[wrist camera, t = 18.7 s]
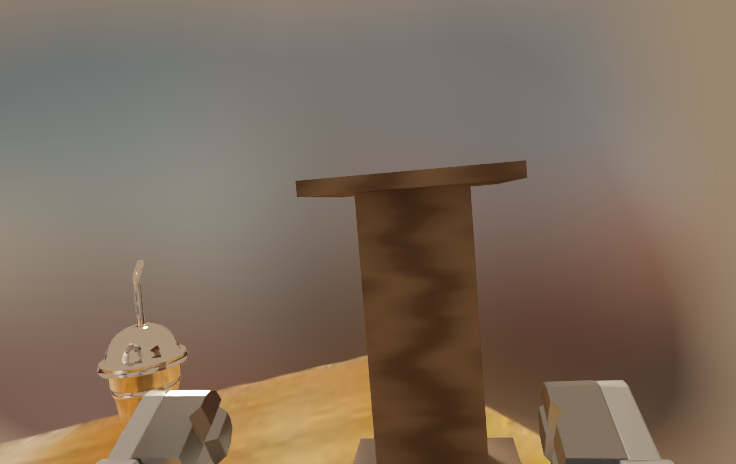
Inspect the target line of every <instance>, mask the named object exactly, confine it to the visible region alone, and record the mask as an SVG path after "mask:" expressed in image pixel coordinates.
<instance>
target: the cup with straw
mask: <svg viewBox="0 0 736 464" xmlns="http://www.w3.org/2000/svg"><path fill="white" fill-rule="evenodd" d="M143 265H144V261H143V260H139V261H138V262H137V264H136V267H135V270H134V273H133V289H134V298H135V307H136V316H137V324H135V325H132V326H129V327H127V328H125V329H124V330H122V331H121V332H120V333H118V334H117V335H116V336H115V337H114V338H113V340H112V341H111V342H110V345H109V347H108V349H107V352H106V355H105V359H103V360H102V361H101V362H100V363H99V364H98V371H97V375H98V376H99V377H102V378H106V379H107V381H108V385H109V389H110V390H111V393H112V396H113V398H114V399H115V402H116V406H117V410H118V414H119V418H120V422H121V426H122V430H123V431H124V429H125V427H126V425H127V423H128V422H129V420H130V418H131V416H132V415H133V413H134V411H135V409H136V408H137V406H138V404H139V402H140V401H141V399H142V397H143V396H144V395H145V394H146V393H147V392H149V391H150V390H179V383H180V375H181V363H182V362H184V361H185V360H186V359H187V358H188V353H187V351H186V347H185V346H183V345H180V344H179V342H178V340H177V339H176V337H175V336H174V335H173V333H172V332H171V331H170V330H169V329H167V328H166V327H164V326H162V325H159V324H155V323H145V320H144V311H143V302H142V294H141V283H140V278H141V277H140V276H141V272H142V268H143Z"/></svg>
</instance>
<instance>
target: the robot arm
mask: <svg viewBox="0 0 736 464" xmlns="http://www.w3.org/2000/svg"><path fill="white" fill-rule="evenodd" d="M540 394H541V398H542V401H543V405H542V406H541V407H540V408H539V431H540V438H541V443H542V448H543V452H544V456H545V457H546V458H547V459H548V460H549V461H550V462H551V464H674V463H673V462H672V461H671V460H661V457H660V455H659V453H658V451H657V449H656V447H655V444H654V442H653V440H652V438H651V436H650V433H649V431H648V429H647V427H646V424H645V422H644V420H643V418H642V416H641V413H640V411H639V409H638V407H637V405H636V402H635V400H634V398H633V396H632V394H631V391H630V389H629V387H628V385H627V384H626V383H625V382H624V381H623V380H613V381H593V380H588V381H562V382H543V383H542V385H541V393H540ZM220 402H221V398H220V396H219V394H218V393H217V391H216V390H150V391H149V392H147V393H146V394H145V395H144V396H143V397H142V399H141V401H140V402H139V404H138V406H137V408H136V409H135V411H134V413H133V415H132V416H131V418H130V420H129V422H128V423H127V425H126V427H125V429H124V431H123V432H122V434H121V436H120V438H119V439H118V441H117V443H116V445H115V446H114V448H113V450H112V452H111V453H110V455H109V457H108V459H101V460H100V461H98V462H97V463H96V464H218V463H219V462H220V461H221V460H223V459H224V458H225V457H226V456H227V453H228V450H229V447H230V444H231V437H232V424H231V419H230V416H229V414H228V412H226V411H225V410H223V409H222V408H220V407H219V405H220Z"/></svg>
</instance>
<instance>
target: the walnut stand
mask: <svg viewBox="0 0 736 464" xmlns="http://www.w3.org/2000/svg"><path fill="white" fill-rule="evenodd" d="M526 170H527V169H526V161H515V162H504V163H493V164H481V165H471V166H459V167H448V168H436V169H425V170H414V171H404V172H392V173H380V174H369V175H358V176H347V177H335V178H324V179H314V180H302V181H296V190H297V197H347V196H348V197H349V196H355V205H356V218H357V230H358V241H359V254H360V266H361V279H362V290H363V303H364V316H365V327H366V340H367V352H368V365H369V377H370V390H371V402H372V414H373V426H374V439H361V440H360V444H359V447H358V450H357V453H356V456H355V460H354V463H353V464H521V462H520V459H519V456H518V453H517V449H516V446H515V443H514V440H513V438H487V430H486V415H485V400H484V385H483V370H482V355H481V341H480V325H479V310H478V295H477V280H476V266H475V250H474V235H473V220H472V205H471V189H470V186H482V185H492V184H493V185H494V184H500V183H504V182H509V181H514V180H518V179H522V178H527V171H526Z"/></svg>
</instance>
